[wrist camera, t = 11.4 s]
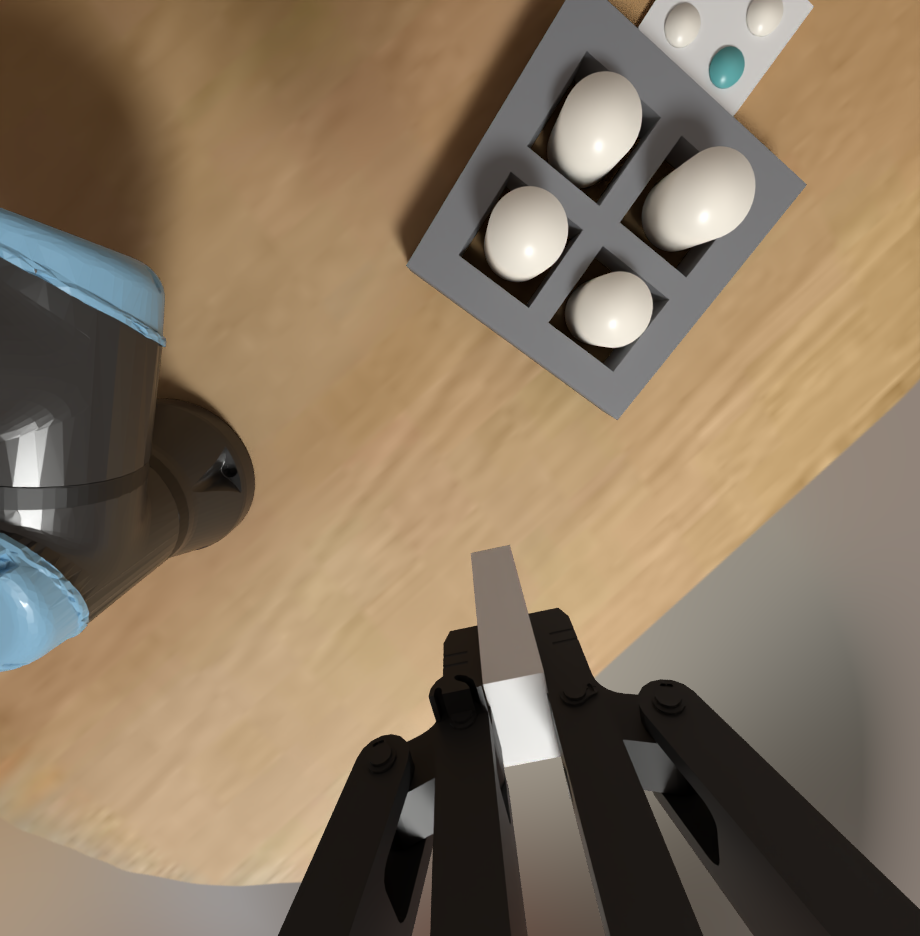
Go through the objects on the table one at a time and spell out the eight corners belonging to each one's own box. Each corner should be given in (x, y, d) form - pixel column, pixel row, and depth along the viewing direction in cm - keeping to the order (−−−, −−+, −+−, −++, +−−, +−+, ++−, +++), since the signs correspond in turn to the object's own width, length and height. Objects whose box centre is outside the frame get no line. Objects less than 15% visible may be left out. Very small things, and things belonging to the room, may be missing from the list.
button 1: (470, 254, 37) (471, 243, 32) (511, 190, 36) (519, 167, 31) (525, 296, 38) (535, 291, 33) (567, 235, 37) (584, 220, 32)
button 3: (552, 320, 41) (565, 320, 36) (592, 264, 40) (612, 255, 34) (600, 357, 42) (620, 361, 37) (641, 303, 41) (667, 300, 35)
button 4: (627, 223, 37) (654, 206, 31) (674, 156, 35) (712, 126, 30) (679, 266, 38) (714, 256, 32) (727, 202, 36) (773, 182, 31)
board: (411, 271, 40) (406, 265, 36) (567, 13, 35) (580, -25, 31) (603, 411, 44) (617, 420, 40) (772, 198, 38) (806, 184, 35)
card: (630, 39, 35) (633, 33, 35) (712, -87, 33) (717, -96, 32) (724, 125, 37) (729, 121, 36) (808, 10, 35) (816, 4, 34)
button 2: (533, 159, 37) (544, 132, 32) (576, 91, 36) (596, 51, 31) (586, 203, 38) (606, 183, 33) (630, 138, 37) (658, 107, 32)
